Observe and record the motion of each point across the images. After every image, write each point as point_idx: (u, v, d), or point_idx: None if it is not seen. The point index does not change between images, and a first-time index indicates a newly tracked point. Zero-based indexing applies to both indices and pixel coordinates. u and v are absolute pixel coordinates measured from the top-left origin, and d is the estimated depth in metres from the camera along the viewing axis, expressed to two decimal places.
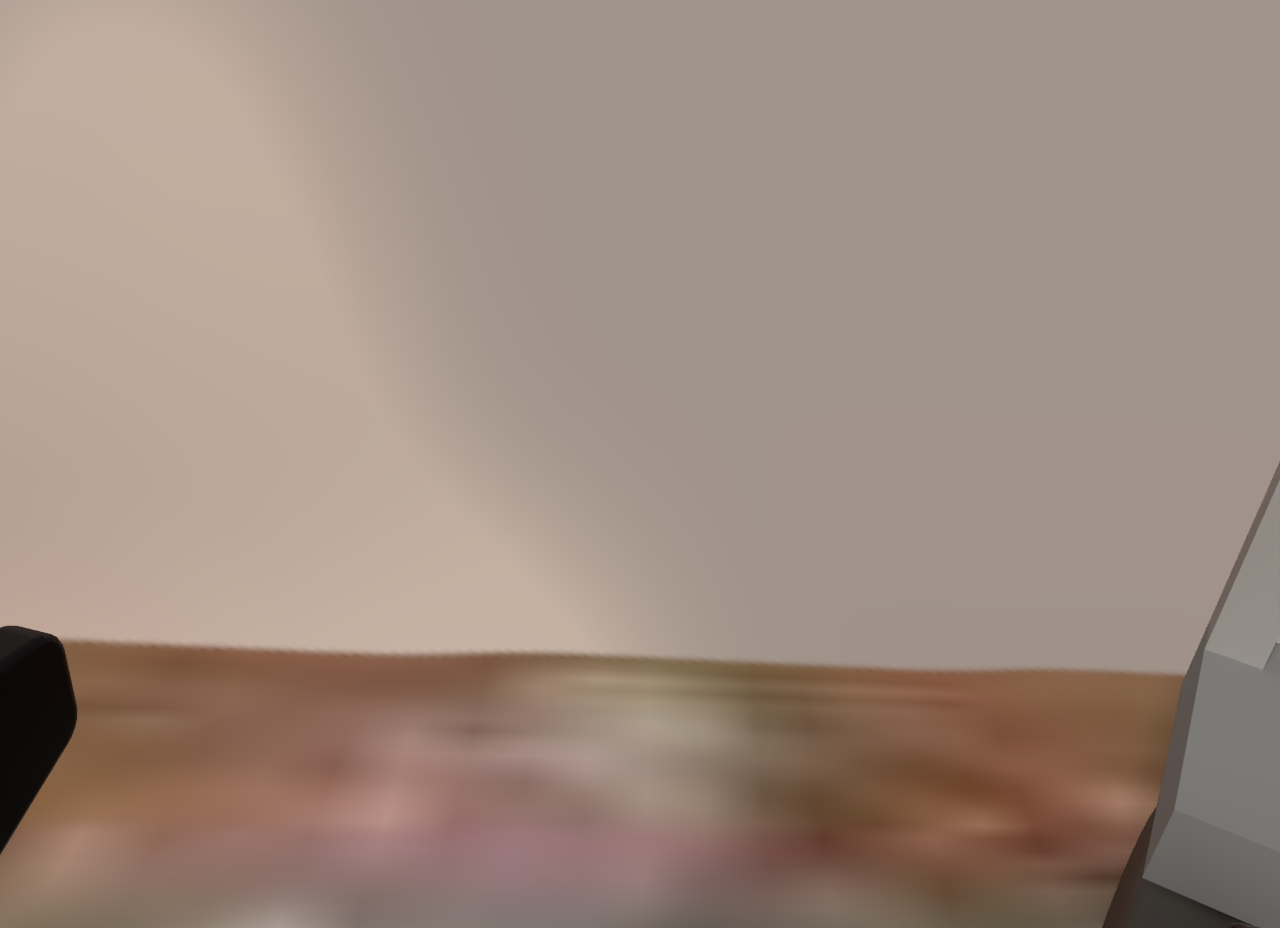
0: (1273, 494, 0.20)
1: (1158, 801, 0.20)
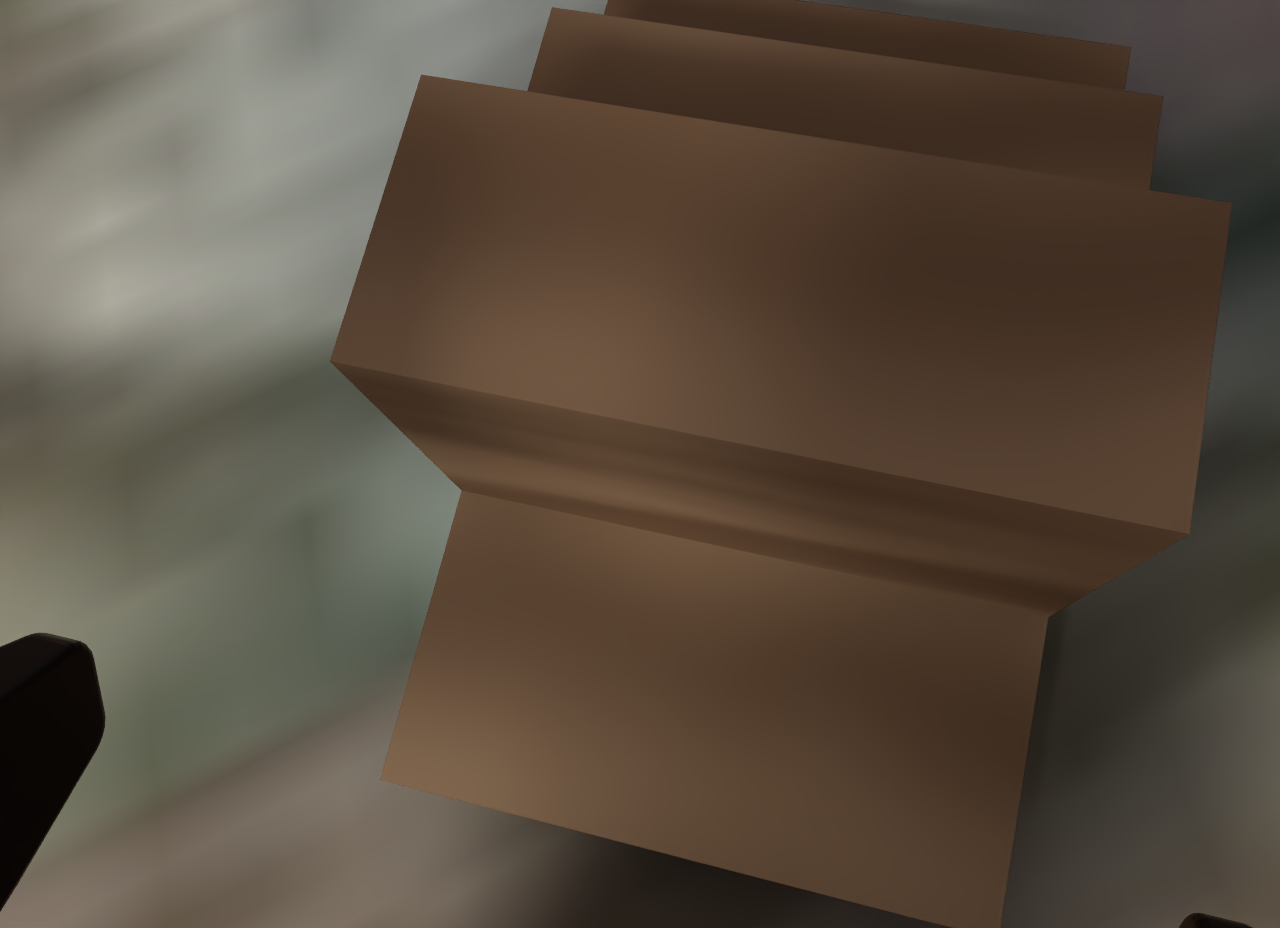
0: None
1: None
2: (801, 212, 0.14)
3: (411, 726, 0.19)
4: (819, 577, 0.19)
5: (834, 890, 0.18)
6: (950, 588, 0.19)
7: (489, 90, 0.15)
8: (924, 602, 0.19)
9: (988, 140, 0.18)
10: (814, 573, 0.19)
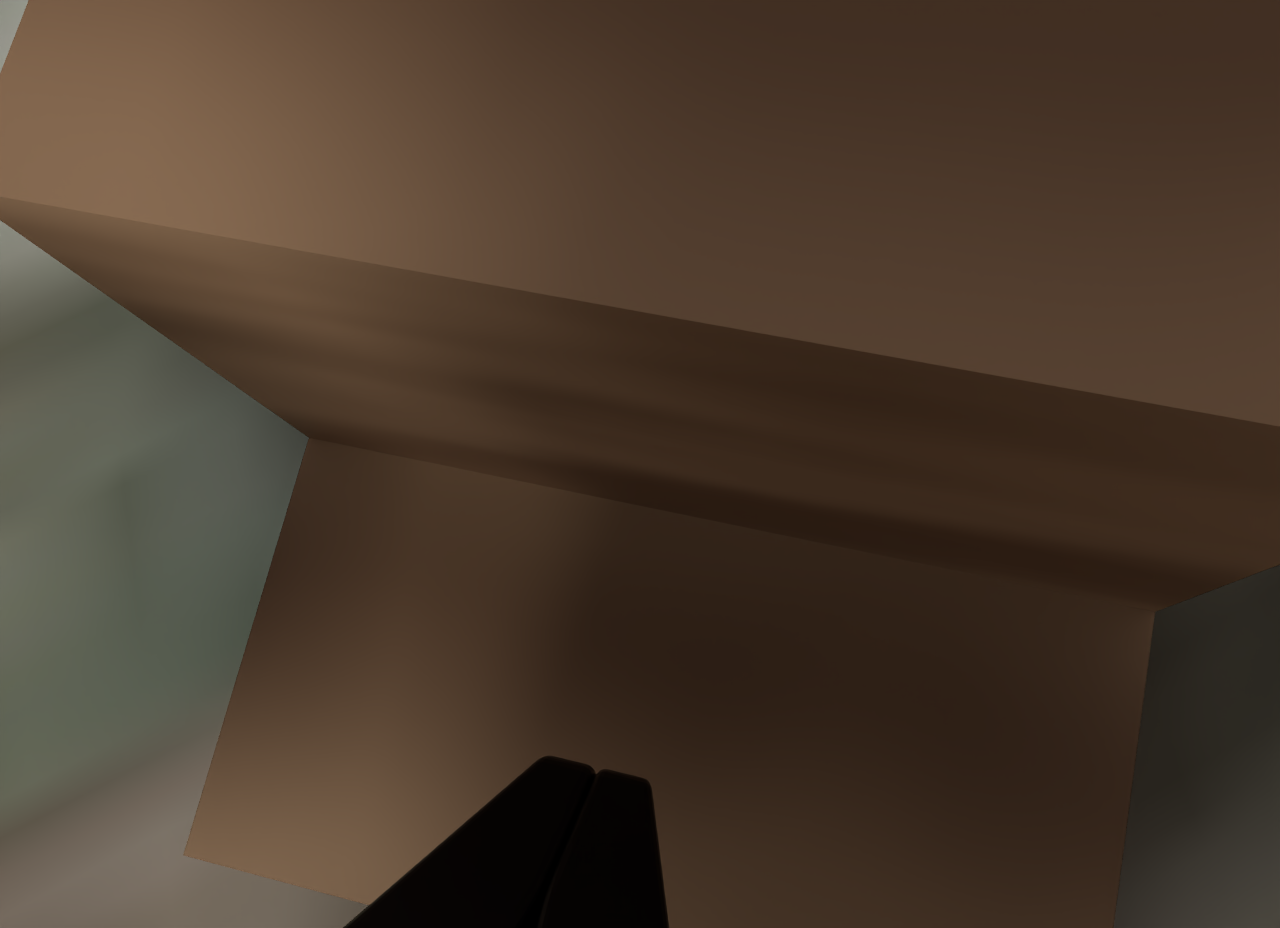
0: None
1: None
2: None
3: (230, 777, 0.13)
4: (818, 556, 0.13)
5: None
6: (1012, 571, 0.12)
7: None
8: (971, 591, 0.13)
9: None
10: (810, 551, 0.13)
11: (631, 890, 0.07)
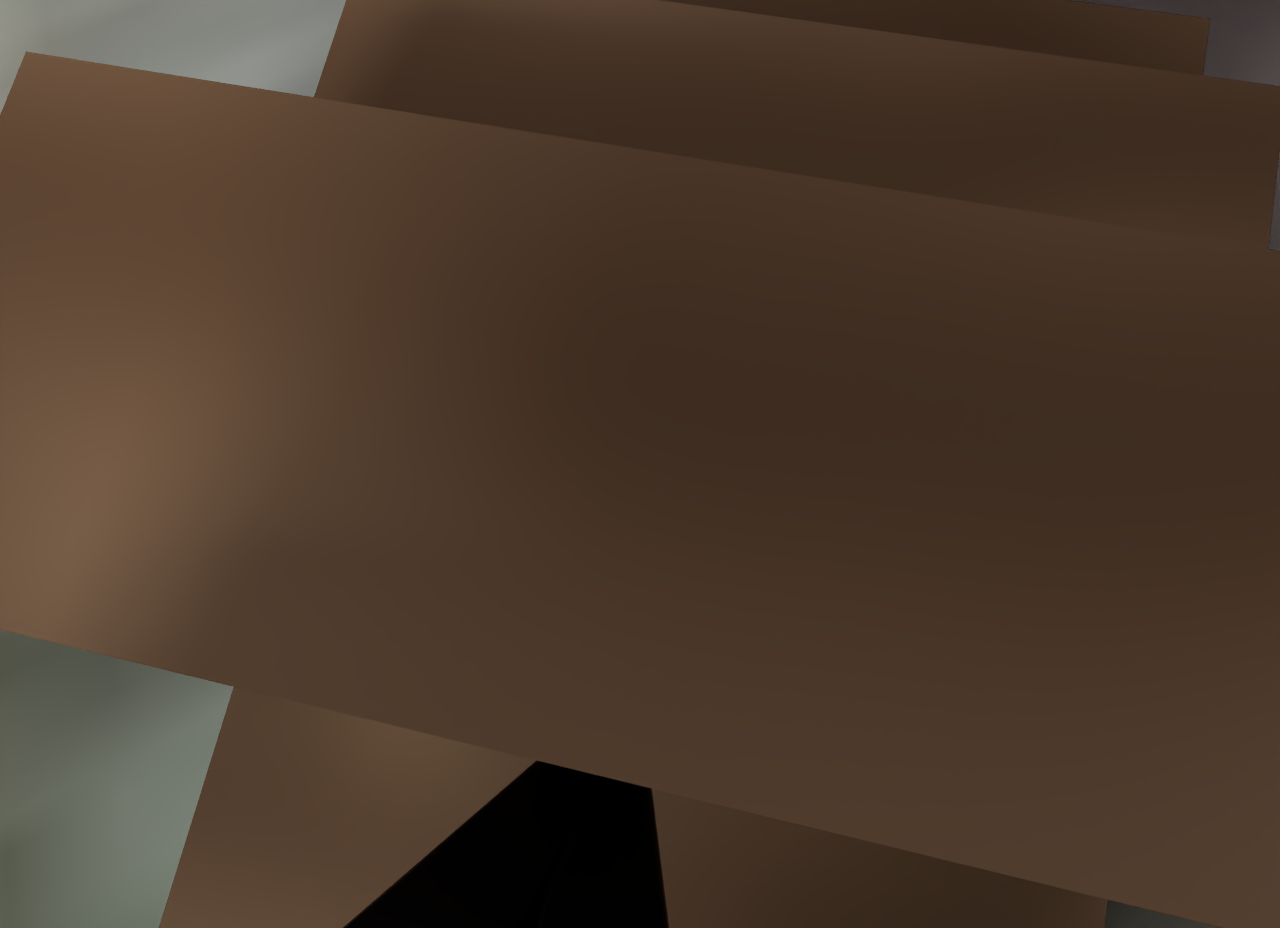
0: None
1: None
2: (685, 302, 0.08)
3: None
4: (762, 815, 0.13)
5: None
6: None
7: (147, 79, 0.09)
8: (920, 858, 0.13)
9: (1015, 156, 0.12)
10: None
11: (631, 890, 0.07)
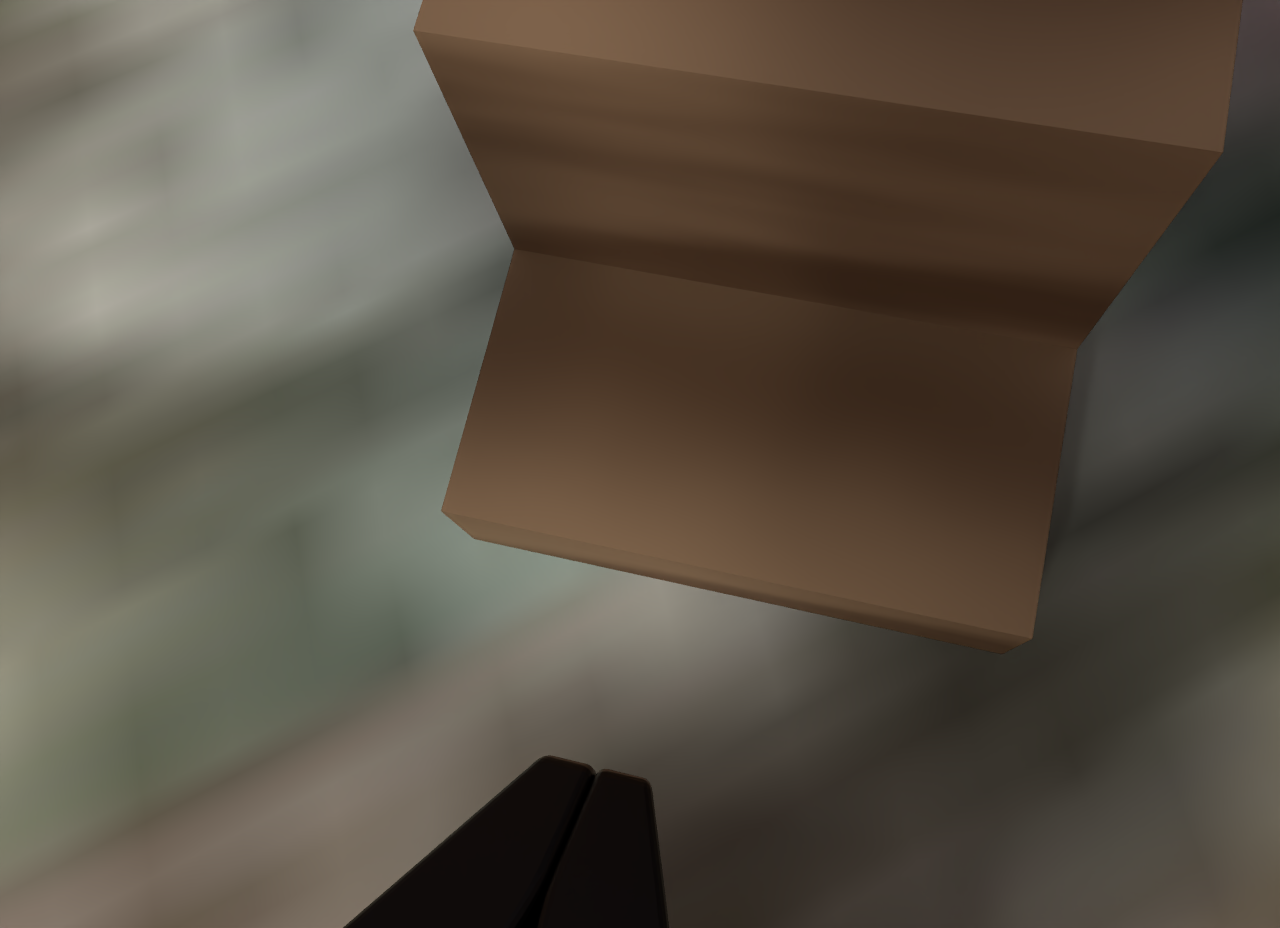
0: None
1: None
2: None
3: (470, 462, 0.20)
4: (858, 318, 0.20)
5: (876, 598, 0.19)
6: (984, 317, 0.20)
7: None
8: (959, 338, 0.20)
9: None
10: (853, 314, 0.20)
11: (631, 890, 0.07)
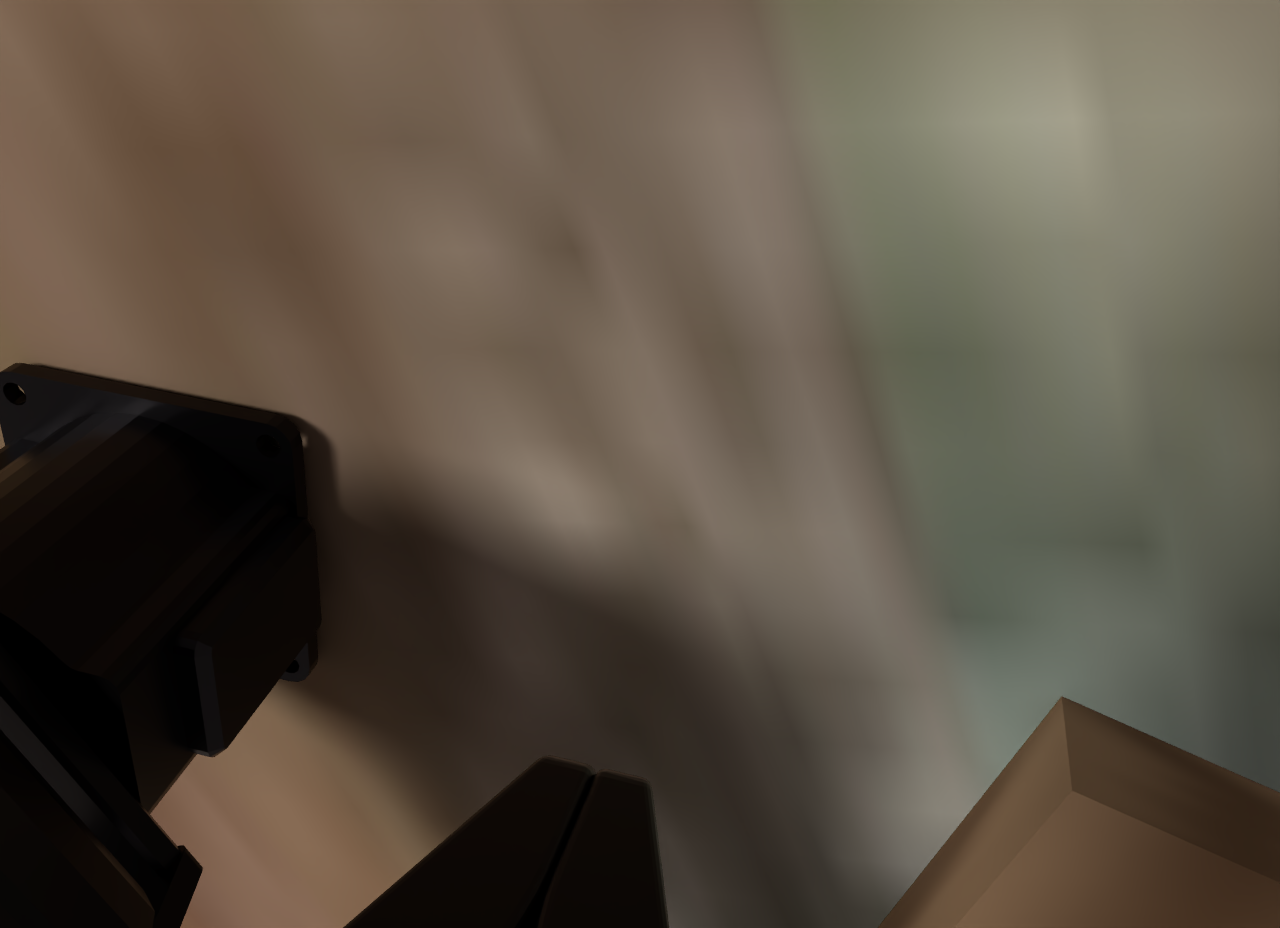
0: None
1: None
2: None
3: (1114, 822, 0.20)
4: None
5: None
6: None
7: None
8: None
9: None
10: None
11: (631, 890, 0.07)
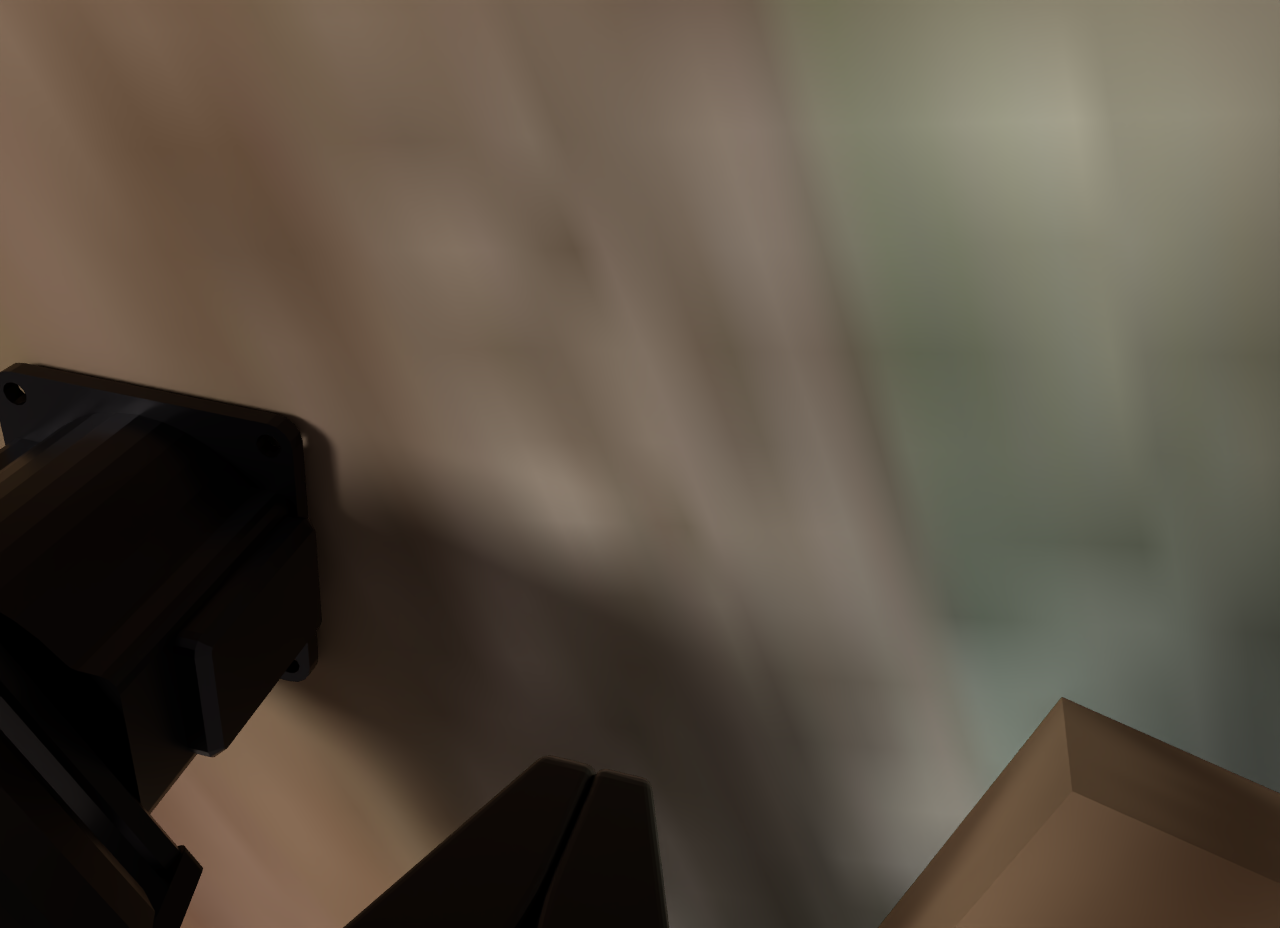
0: None
1: None
2: None
3: (1114, 823, 0.20)
4: None
5: None
6: None
7: None
8: None
9: None
10: None
11: (631, 890, 0.07)
